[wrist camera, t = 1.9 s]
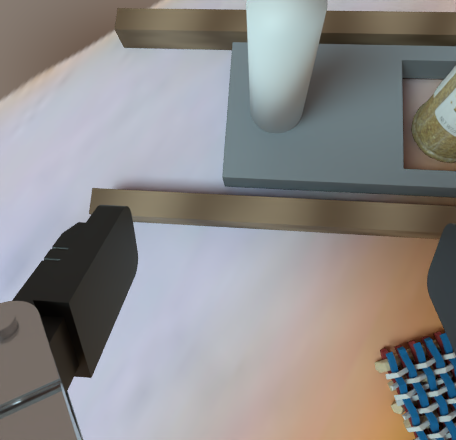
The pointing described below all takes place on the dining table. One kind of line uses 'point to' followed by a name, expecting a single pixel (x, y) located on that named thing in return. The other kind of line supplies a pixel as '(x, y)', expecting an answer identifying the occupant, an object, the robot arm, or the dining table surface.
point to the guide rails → (275, 206)
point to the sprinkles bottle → (438, 122)
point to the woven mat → (424, 386)
